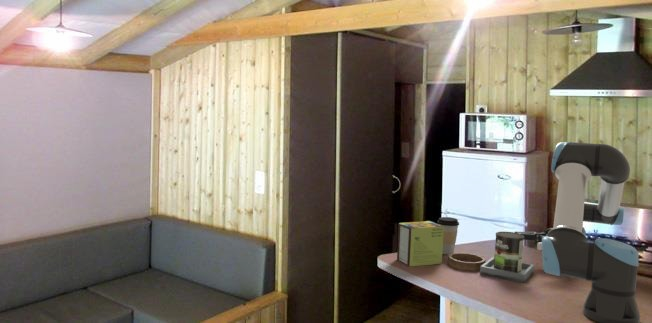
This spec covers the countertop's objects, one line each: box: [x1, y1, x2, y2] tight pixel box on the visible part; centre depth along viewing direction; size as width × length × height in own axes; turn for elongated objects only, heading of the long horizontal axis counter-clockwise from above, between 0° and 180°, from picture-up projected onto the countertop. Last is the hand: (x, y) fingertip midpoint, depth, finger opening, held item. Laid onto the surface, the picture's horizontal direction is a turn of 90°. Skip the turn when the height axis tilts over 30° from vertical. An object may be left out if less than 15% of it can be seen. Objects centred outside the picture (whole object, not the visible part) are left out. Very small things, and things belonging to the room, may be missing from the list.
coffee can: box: [494, 231, 524, 273], centre depth 194 cm, size 10×10×14 cm
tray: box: [479, 256, 535, 284], centre depth 194 cm, size 16×16×3 cm
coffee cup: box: [436, 216, 460, 255], centre depth 220 cm, size 9×9×15 cm
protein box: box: [396, 220, 444, 267], centre depth 206 cm, size 10×15×16 cm
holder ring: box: [447, 252, 487, 272], centre depth 203 cm, size 14×14×3 cm
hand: (522, 242), depth 198 cm, fingers open, 13 cm apart
